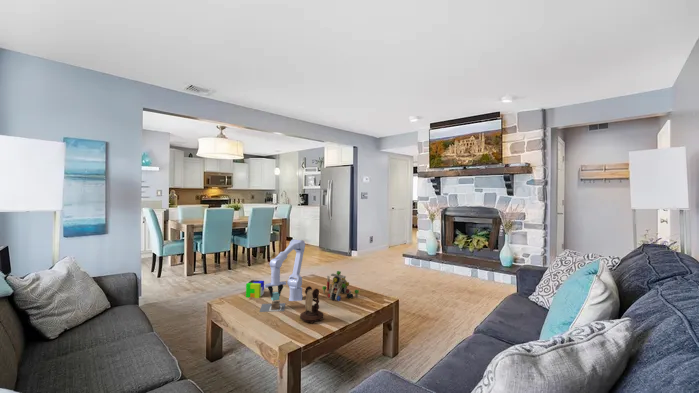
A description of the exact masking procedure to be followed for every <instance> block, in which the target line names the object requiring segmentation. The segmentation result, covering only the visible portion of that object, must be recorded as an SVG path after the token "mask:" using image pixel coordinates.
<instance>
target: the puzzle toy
mask: <svg viewBox="0 0 699 393" xmlns="http://www.w3.org/2000/svg"><path fill="white" fill-rule="evenodd" d="M264 284H265V281H264V280H255V279H253V280H250V281H249V282H248V283H246V285H245V298H249V297H253V298H252V299H260V298H261V297H262V296H263V295H264V294H265V287H264Z"/></svg>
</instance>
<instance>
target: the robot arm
mask: <svg viewBox="0 0 699 393" xmlns="http://www.w3.org/2000/svg"><path fill="white" fill-rule="evenodd" d="M305 249H306V242H305V240H303V239H294V238H292V239H291V240H290V241H289V244H288V245H287V247H286V248H285V249H284V251H280V252H279V253H278V254H277V255H276V256H275V257H274V258H271V260H270V261H269V267H270V272H271V274H270V276H271V278H270V282H269V283H264V289H268V291H269V294H270V299H271V298H273V290H274V288H273V287H277V292H278V293H279V297H280V296H281V293H282V291H283V288H284V286H285V285H287V286H288V288H289V298H288V302H297V301H301V302H302V301H303V287H302V285H303V277H302V276H301V270H302V269H301V268H302V264H303V258H304V253H305ZM292 251H295V252H296V253H295V259H294V263H293V269H292V273H291V274H290V275H289V277H288V279H287V282H286V281H285V280H284V281H281V268H282V265H283V263H284V262H285V260H286V259H288V255H289V254H290V253H291V252H292Z"/></svg>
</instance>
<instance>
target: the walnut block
mask: <svg viewBox="0 0 699 393" xmlns="http://www.w3.org/2000/svg"><path fill="white" fill-rule="evenodd" d="M271 301H272V300H271ZM280 303H281V302H280V300H275V301H272V302H271V303H270V304H271V310H279V308H280Z"/></svg>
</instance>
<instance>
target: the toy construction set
mask: <svg viewBox="0 0 699 393" xmlns="http://www.w3.org/2000/svg"><path fill="white" fill-rule="evenodd" d="M341 272H342V271H339V270H337V271H336V273H331V274H330V275H327V276H326V285H323V286H322V290H323V292H322V293H323V294H326V291H327V292H328V294H327V298H328V299H329V300H332V301H334V300H335V301H338V302H339V301H341V299H342V296H341V295H340V294H345V295H346V298H347V299H349V298H351V299H352V298H353V297H354V294H353V293H352V291H351V290H350V289H349V288H348V287H349V286H350V282H348V280H346V277H347V276H346V275H343V274H342V275H341ZM331 276H332V277H333V278H332V283H331V281H330V280H331V279H330V278H331ZM330 283H331V284H330ZM335 292H336V293H335ZM354 293H355V298H358V295H359V289H355V290H354Z"/></svg>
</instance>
